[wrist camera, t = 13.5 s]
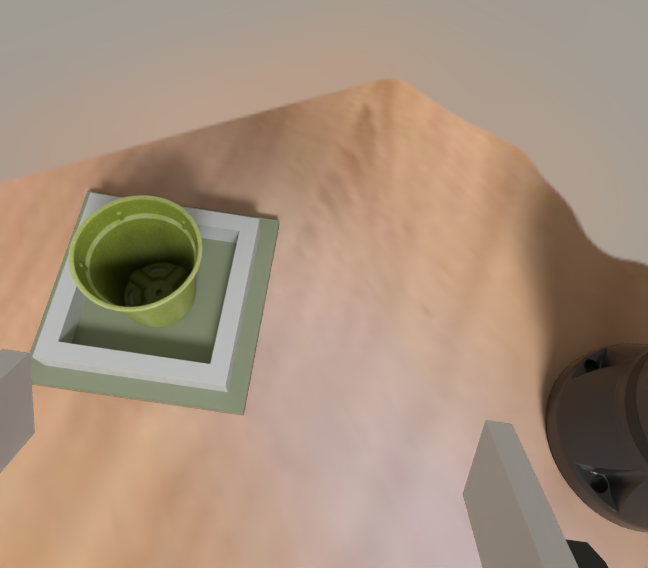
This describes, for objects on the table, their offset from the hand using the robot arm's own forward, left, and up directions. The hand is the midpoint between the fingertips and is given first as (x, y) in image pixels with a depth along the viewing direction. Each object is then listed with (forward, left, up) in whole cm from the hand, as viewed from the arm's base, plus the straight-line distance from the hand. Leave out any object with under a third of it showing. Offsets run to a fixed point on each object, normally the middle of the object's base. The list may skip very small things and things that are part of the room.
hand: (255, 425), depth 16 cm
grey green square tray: (+12, -14, -30) cm, 35 cm away
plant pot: (+12, -14, -29) cm, 34 cm away
